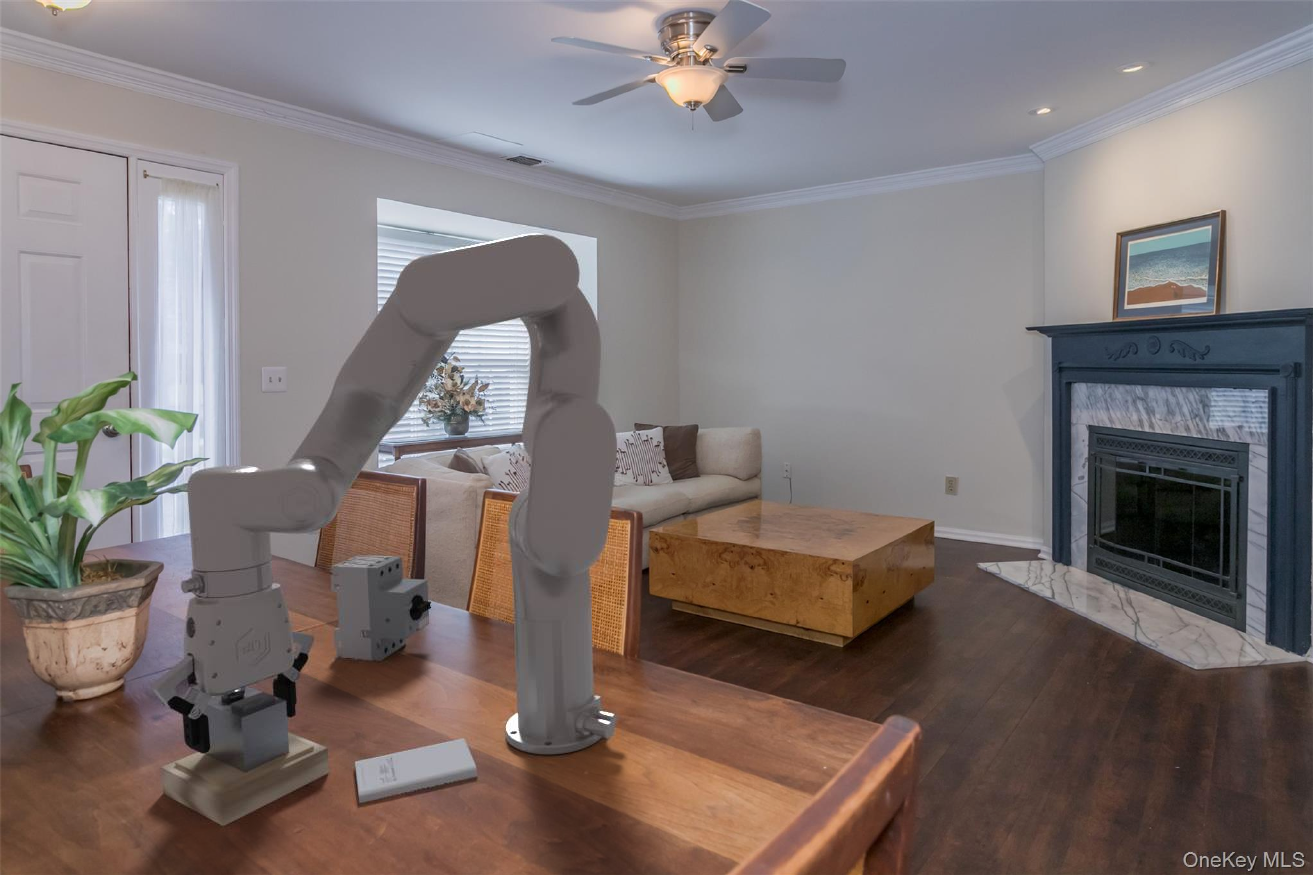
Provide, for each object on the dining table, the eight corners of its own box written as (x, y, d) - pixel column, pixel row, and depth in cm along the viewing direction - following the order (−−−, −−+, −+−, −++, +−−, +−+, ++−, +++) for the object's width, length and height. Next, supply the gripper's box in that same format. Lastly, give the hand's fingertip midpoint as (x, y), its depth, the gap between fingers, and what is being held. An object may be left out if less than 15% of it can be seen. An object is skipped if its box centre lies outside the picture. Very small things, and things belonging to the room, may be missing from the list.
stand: (328, 772, 88) (327, 744, 88) (223, 826, 78) (220, 793, 78) (268, 747, 95) (266, 720, 94) (163, 793, 85) (160, 763, 84)
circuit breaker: (416, 663, 122) (412, 569, 120) (335, 658, 124) (330, 566, 123) (439, 646, 129) (435, 557, 128) (362, 641, 132) (357, 555, 130)
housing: (289, 752, 86) (285, 693, 86) (245, 772, 82) (240, 710, 81) (248, 735, 91) (245, 679, 90) (204, 753, 86) (200, 694, 86)
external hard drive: (477, 781, 87) (359, 808, 82) (464, 749, 95) (355, 772, 90) (477, 767, 87) (358, 793, 82) (463, 736, 94) (354, 758, 89)
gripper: (167, 606, 75) (179, 775, 77) (326, 566, 90) (334, 709, 91) (129, 595, 79) (142, 756, 81) (287, 558, 94) (296, 695, 95)
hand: (244, 731), depth 86 cm, fingers open, 9 cm apart
